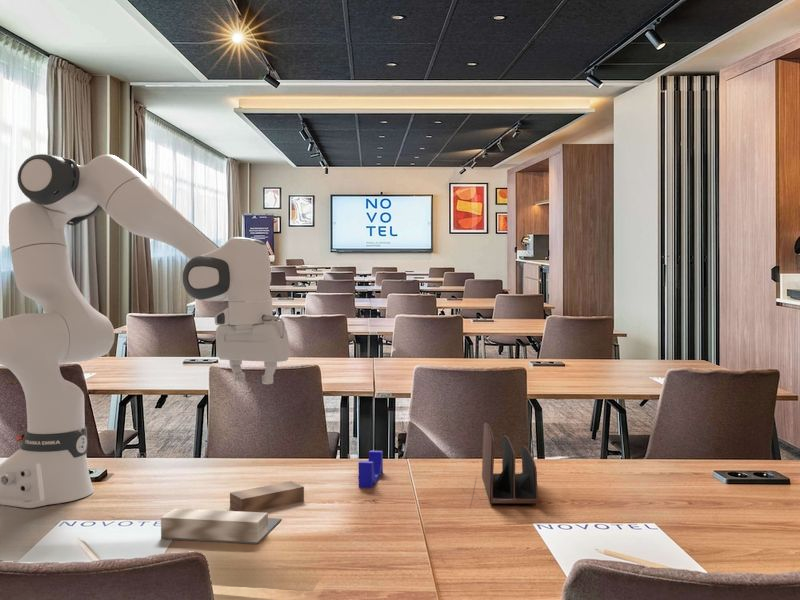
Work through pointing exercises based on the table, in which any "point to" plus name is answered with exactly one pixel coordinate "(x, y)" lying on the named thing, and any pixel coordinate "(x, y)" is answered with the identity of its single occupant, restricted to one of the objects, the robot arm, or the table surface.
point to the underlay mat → (271, 524)
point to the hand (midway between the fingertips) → (253, 382)
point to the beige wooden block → (214, 525)
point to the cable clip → (370, 469)
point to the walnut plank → (266, 497)
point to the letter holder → (508, 473)
